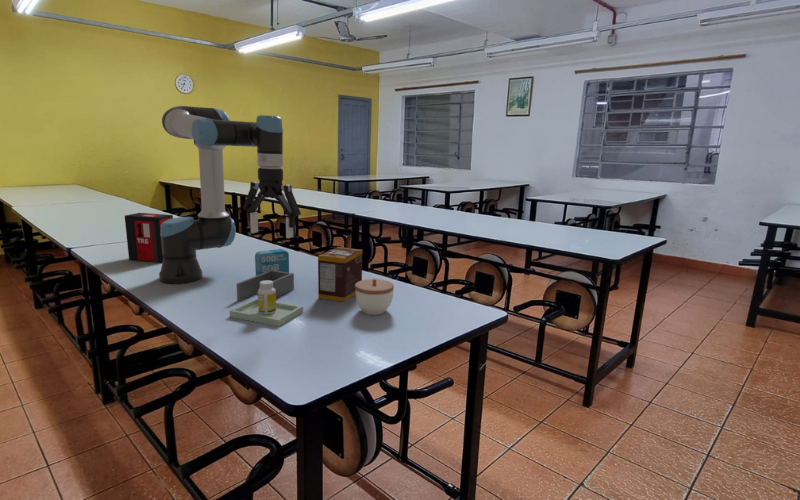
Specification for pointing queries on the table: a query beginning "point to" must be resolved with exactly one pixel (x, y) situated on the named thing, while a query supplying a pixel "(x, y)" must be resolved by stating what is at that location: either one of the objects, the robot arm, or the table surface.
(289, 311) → the tray
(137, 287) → the table surface
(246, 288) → the bay
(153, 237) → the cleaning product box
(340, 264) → the supplement box
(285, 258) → the data package
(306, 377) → the table surface
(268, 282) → the supplement bottle
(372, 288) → the lidded bowl
